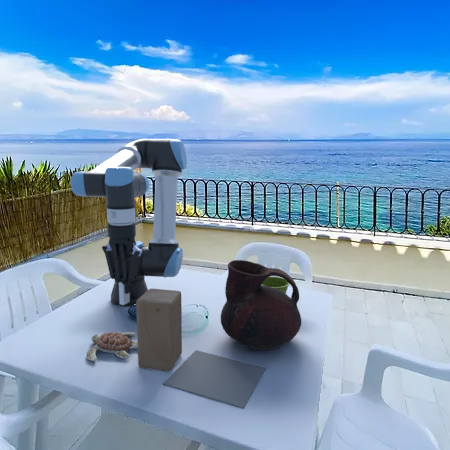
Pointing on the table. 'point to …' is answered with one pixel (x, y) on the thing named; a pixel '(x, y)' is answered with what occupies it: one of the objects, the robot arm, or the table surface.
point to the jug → (259, 307)
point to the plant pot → (276, 283)
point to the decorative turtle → (111, 344)
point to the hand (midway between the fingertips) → (124, 302)
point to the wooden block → (159, 329)
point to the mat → (217, 378)
